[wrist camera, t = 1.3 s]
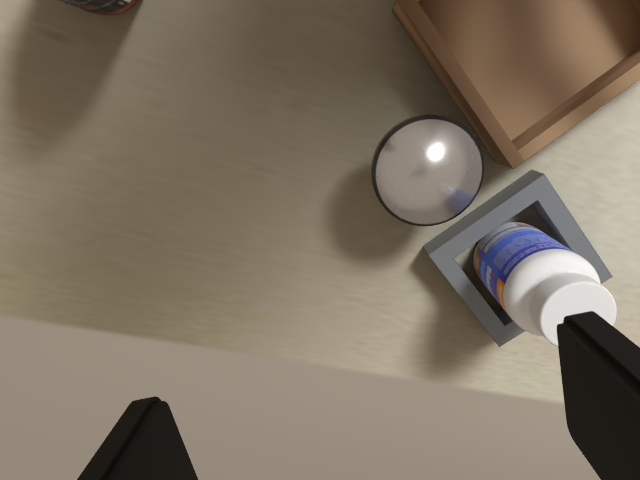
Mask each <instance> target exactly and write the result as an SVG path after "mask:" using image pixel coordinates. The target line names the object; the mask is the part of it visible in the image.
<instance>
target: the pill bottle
mask: <svg viewBox="0 0 640 480" xmlns="http://www.w3.org/2000/svg"><path fill="white" fill-rule="evenodd" d="M474 267H475V271H476V273H477V275H478V277H479V279H480V280H481V282H482V283H483V284H484V285H485V287H486V288H487V289H488V290H489V292H490V293H491V294H492V295H493V296H494V298H495V299H496V300H497V301H498V303H499V304H500V305H501V306H502V308H503V309H504V310H505V311H506V313H507V314H508V315H509V316H510V318H511V319H512V320H513V321H514V322H515V323H516V324H517V325H518V326H519V327H521V328H522V329H524V330H525V331H527V332H529V333H532V334H535V335H539V336H544V337H545V338H546V339H547V340H548V341H549V342H550V343H552V344H553V345H555V346H557V347H558V339H557V325H558V324H562V323H563V320H564V317H565V316H568V315H573V314H578V313H583V312H589V311H594V312H595V313H597V314H598V315H599V316H601V317H602V318H603V319H604V320H606V321H607V322H608V323H609V324H611V325H612V326H613V324H614V322H615V319H616V304H615V301H614V298H613V297H612V295H611V293H610V292H609V291H608V290H607V289H606V288H604V287H603V286H602V285H601V283H600V279H599V276H598V274H597V272H596V270H595V269H594V268H593V266H592V265H591V264H590V263H589V262H588V261H587V260H585V259H584V258H583V257H581V256H580V255H578V254H577V253H575V252H573V251H572V250H570V249H569V248H567V247H565V246H564V245H562V244H561V243H559V242H557V241H556V240H554V239H552V238H551V237H549V236H548V235H546V234H545V233H543V232H542V231H540V230H539V229H537V228H535V227H533V226H531V225H529V224H525V223H520V222H510V223H505V224H502V225H500V226H499V227H497V228H496V229H494V230H493V231H491V232H490V233H489V234H487V235H486V236H484V237H483V238H481V240H480V241H479V243H478V244H477V247H476V249H475V253H474Z"/></svg>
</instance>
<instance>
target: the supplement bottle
mask: <svg viewBox="0 0 640 480" xmlns="http://www.w3.org/2000/svg"><path fill="white" fill-rule="evenodd" d="M60 1H62V2H65V3H67V4H71V5H73V6H75V7H78V8H81V9H83V10H86V11H89V12H93V13H97V14H102V15H112V14H117V13H120V12H123V11H125V10H127V9H129V8H130V7H131V6H132V5H134V3H135V2H136V1H137V0H60Z"/></svg>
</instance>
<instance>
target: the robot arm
mask: <svg viewBox="0 0 640 480" xmlns="http://www.w3.org/2000/svg"><path fill="white" fill-rule="evenodd" d="M557 339H558V348H559V357H560V366H561V375H562V384H563V393H564V402H565V411H566V420H567V426H568V429H569V432H570V434H571V437H572V438H573V440H574V442H575V443H576V445H577V446H578V447H579V449H580V450H581V451H582V453H583V455H584V456H585V457H586V459H587V460H588V462H589V463H590V464H591V466H592V467H593V469H594V470H595V472H596V473H597V474H598V476H599V477H600V479H601V480H640V348H639V347H638V346H637V345H635V344H634V343H633V342H632V341H630V340H629V339H628V338H627V337H625V336H624V335H623V334H622V333H620V332H619V331H618V330H617V329H615V328H614V327H613V326H612V325H611V324H609V323H608V322H607V321H606V320H604V319H603V318H602V317H601V316H599V315H598V314H597V313H595V312H594V311H589V312H583V313H578V314H573V315H568V316H565V317H564V320H563V323H562V324H558V325H557ZM77 480H198V478H197V476H196V473H195V471H194V468H193V466H192V463H191V461H190V458H189V456H188V453H187V450H186V448H185V445H184V443H183V440H182V438H181V436H180V433H179V430H178V428H177V425H176V423H175V420H174V418H173V415H172V413H171V410H170V408H169V405H168V404H167V403H166V402H165V401H161V400H160V399H159V398H158V397H151V398H145V399H140V400H135V401H132V403H131V404H130V405H129V406H128V407H127V409H126V410H125V412H124V413H123V415H122V416H121V418H120V419H119V421H118V422H117V423H116V425H115V426H114V428H113V429H112V431H111V432H110V433H109V435H108V436H107V438H106V439H105V441H104V442H103V443H102V445H101V446H100V448H99V449H98V450H97V452H96V453H95V455H94V456H93V458H92V459H91V461H90V462H89V463H88V465H87V466H86V468H85V469H84V471H83V472H82V474H81V475H80V476H79V478H78V479H77Z"/></svg>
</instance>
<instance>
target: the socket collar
mask: <svg viewBox="0 0 640 480" xmlns="http://www.w3.org/2000/svg"><path fill="white" fill-rule="evenodd" d="M531 204H533V205H534V207H535V208H536V210H537V211H538V213H539V214H540V215H541V217H542V218H543V220H544V221H545V223H546V224H547V226H548V227H549V229H550V230H551V232H552V233H553V234H554V236H555V237H556V239H557V240H558V242H559V243H561V244H562V245H564V246H565V247H567V248H569V249H570V250H572V251H573V252H575V253H577V254H578V255H580V256H581V257H583V258H584V259H585V260H587V261H588V262H589V263H590V264H591V265H592V266H593V268H594V269H595V270H596V272H597V274H598V276H599V279H600V283H601V284H602V283H603V282H605V281H607V280H608V279H610V278H611V277H613V276H612V275H611V273H610V272H609V270H608V269H607V267H606V266H605V264H604V263H603V261H602V260H601V258H600V257H599V255H598V254H597V252H596V251H595V249H594V248H593V246H592V245H591V243H590V242H589V240H588V239H587V237H586V236H585V234H584V233H583V231H582V230H581V228H580V227H579V225H578V224H577V222H576V221H575V219H574V218H573V216H572V215H571V213H570V212H569V210H568V209H567V207H566V206H565V204H564V203H563V201H562V200H561V198H560V197H559V195H558V194H557V192H556V191H555V189H554V188H553V186H552V185H551V183H550V182H549V180H548V179H547V177H546V176H545V174H543V173H540V172H537V171H534V170H530V171H529V172H528V173H526V174H525V175H523V176H522V177H521V178H519V179H518V180H516V181H515V182H513V183H512V184H511V185H509V186H508V187H506V188H505V189H504V190H502V191H501V192H499V193H498V194H496V195H495V196H494V197H492V198H491V199H489V200H488V201H486V202H485V203H484V204H482V205H481V206H479V207H478V208H477V209H475V210H474V211H472V212H471V213H469V214H468V215H467V216H465V217H464V218H462V219H461V220H460V221H458V222H457V223H455V224H454V225H452V226H451V227H450V228H448V229H447V230H445V231H444V232H442V233H441V234H440V235H438V236H437V237H435V238H434V239H433V240H431V241H430V242H428V243H427V244H425V245H424V246H423V247H424V248H425V250H426V252H427V253H428V255H429V256H430V258H431V259H432V260H433V262H434V263H435V264H436V266H437V267H438V268H439V269H440V271H441V272H442V273H443V275H444V276H445V277H446V279H447V280H448V281H449V282H450V284H451V285H452V286H453V288H454V289H455V290H456V292H457V293H458V294H459V295H460V297H461V298H462V299H463V301H464V302H465V303H466V304H467V306H468V307H469V308H470V310H471V311H472V312H473V314H474V315H475V316H476V317H477V319H478V320H479V321H480V323H481V324H482V325H483V327H484V328H485V329H486V330H487V332H488V333H489V334H490V336H491V337H492V338H493V340H494V341H495V342H496V343H497V345H498V346H499V347H500V346H502V345H503V344H505V343H506V342H508V341H510V340H511V339H513V338H515V337H516V336H518V335H519V334H521V333H523V332H524V331H525V330H524V329H522V328H521V327H519V326H518V325H517V324H516V323H515V322H514V321H513V320H512V319H511V318H510V316H509V315H508V314H507V313H506V311H505V310H504V309H502V310H500V311H499V312H497V313H496V314H495V312H494V311H493V310H492V309H491V307H490V306H489V305H488V303H487V302H486V301H485V299H484V298H483V297H482V295H481V294H480V293H479V291H478V290H477V289H476V287H475V286H474V285H473V283H472V282H471V281H470V279H469V278H468V277H467V275H466V274H465V273H464V271H463V270H462V269H461V268H460V266H459V265H458V264H457V262H456V261H455V260H454V257H455V256H456V255H458V254H459V253H461V252H462V251H464V250H465V249H467V248H468V247H470V246H471V245H472V244H474V243H475V242H477V241H478V240H480V239H481V238H483V237H484V236H486V235H487V234H489V233H490V232H491V231H493V230H494V229H496V228H497V227H499V226H500V225H502V224H503V223H505V222H506V221H507V220H509V219H510V218H512V217H513V216H515V215H516V214H518V213H519V212H521V211H522V210H524V209H525V208H526V207H528V206H529V205H531Z"/></svg>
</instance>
